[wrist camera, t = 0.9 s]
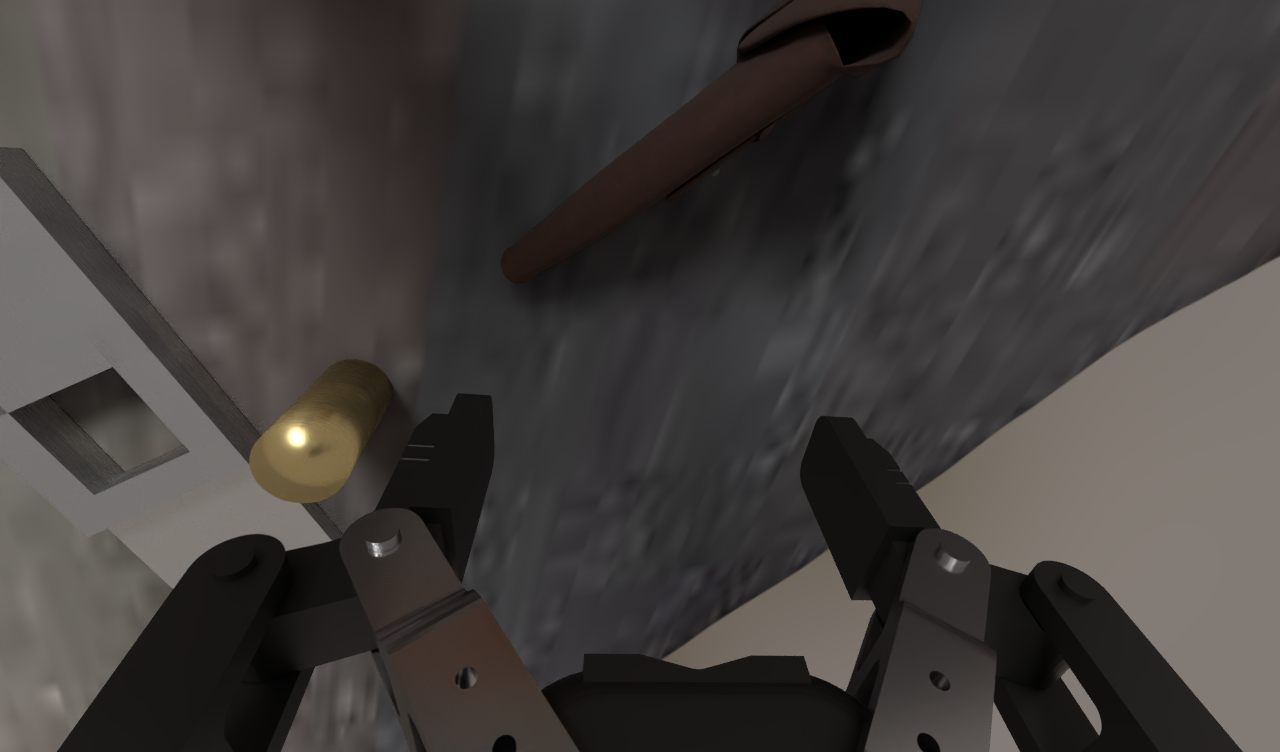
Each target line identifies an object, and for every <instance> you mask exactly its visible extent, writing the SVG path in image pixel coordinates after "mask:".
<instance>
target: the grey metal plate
mask: <svg viewBox="0 0 1280 752" xmlns="http://www.w3.org/2000/svg"><path fill="white" fill-rule="evenodd" d="M112 367H113V368H114V369H115V370H116V371H117V372H118V373H119V374H120V375H121V377H122V378H123V379H124V380H125V381H126V382H127V383H128V384H129V385H130V386H131V387H132V389H133V390H134V391H135V392H136V393H137V394H138V395H139V396H140V397H141V398H142V400H143V401H144V402H145V403H146V404H147V405H148V406H149V407H150V408H151V409H152V410H153V412H154V413H155V414H156V415H157V416H158V417H159V418H160V419H161V420H162V421H163V423H164V424H165V425H166V426H167V427H168V428H169V429H170V430H171V431H172V432H173V433H174V435H175V436H176V437H177V438H178V439H179V440H180V441H181V442H182V443H183V444H184V446H182V447H180V448H177V449H175V450H173V451H171V452H168V453H166V454H164V455H162V456H159V457H157V458H155V459H153V460H151V461H148V462H146V463H144V464H142V465H139V466H137V467H135V468H133V469H131V470H128V471H126V472H124V471H123V470H122V469H121V468H120V467H119V466H118V465H117V464H116V463H115V462H114V461H113V460H112V459H111V458H110V457H109V456H108V455H107V454H106V453H105V452H104V451H103V450H102V449H101V448H100V447H99V446H98V445H97V444H96V443H95V442H94V441H93V440H92V439H91V438H90V437H89V436H88V435H87V434H86V433H85V432H84V431H83V430H82V429H81V428H80V427H79V426H78V425H77V424H76V423H75V422H74V421H73V420H72V419H71V418H70V417H69V416H68V415H67V414H66V413H65V412H64V411H63V410H62V409H61V408H60V407H59V406H58V405H57V404H56V403H55V402H54V401H53V400H52V399H51V398H50V397H49V396H48V395H50V394H52V393H55V392H57V391H59V390H62V389H64V388H66V387H68V386H71V385H73V384H75V383H78V382H80V381H82V380H84V379H87V378H89V377H91V376H94V375H96V374H98V373H100V372H103V371H105V370H107V369H110V368H112ZM260 437H261V436H260V435H259V434H258V432H257V431H256V430H255V429H254V428H253V426H252V425H251V424H250V423H249V422H248V420H247V419H246V418H245V417H244V416H243V414H242V413H241V412H240V411H239V410H238V408H237V407H236V406H235V405H234V404H233V402H232V401H231V400H230V399H229V398H228V396H227V395H226V394H225V393H224V392H223V390H222V389H221V388H220V387H219V386H218V384H217V383H216V382H215V381H214V380H213V378H212V377H211V376H210V375H209V374H208V372H207V371H206V370H205V369H204V368H203V366H202V365H201V364H200V363H199V361H198V360H197V359H196V358H195V357H194V355H193V354H192V353H191V352H190V351H189V349H188V348H187V347H186V346H185V345H184V343H183V342H182V341H181V340H180V339H179V337H178V336H177V335H176V334H175V333H174V331H173V330H172V329H171V328H170V327H169V325H168V324H167V323H166V322H165V321H164V319H163V318H162V317H161V316H160V315H159V313H158V312H157V311H156V310H155V309H154V307H153V306H152V305H151V304H150V303H149V301H148V300H147V299H146V298H145V296H144V295H143V294H142V293H141V292H140V290H139V289H138V288H137V287H136V286H135V284H134V283H133V282H132V281H131V280H130V278H129V277H128V276H127V275H126V274H125V272H124V271H123V270H122V269H121V268H120V266H119V265H118V264H117V263H116V262H115V260H114V259H113V258H112V257H111V256H110V254H109V253H108V252H107V251H106V250H105V248H104V247H103V246H102V245H101V244H100V242H99V241H98V240H97V239H96V238H95V236H94V235H93V234H92V233H91V232H90V230H89V229H88V228H87V227H86V225H85V224H84V223H83V222H82V221H81V219H80V218H79V217H78V216H77V215H76V213H75V212H74V211H73V210H72V209H71V207H70V206H69V205H68V204H67V203H66V201H65V200H64V199H63V198H62V197H61V195H60V194H59V193H58V192H57V191H56V189H55V188H54V187H53V186H52V185H51V183H50V182H49V181H48V180H47V179H46V177H45V176H44V175H43V174H42V173H41V171H40V170H39V169H38V168H37V167H36V165H35V164H34V163H33V162H32V161H31V159H30V158H29V157H28V156H27V154H26V153H25V152H24V151H23V150H22V148H8V147H0V458H1V459H2V460H3V461H4V462H5V463H6V464H7V465H8V466H10V467H11V468H12V469H13V470H14V471H15V472H16V473H17V474H18V475H19V476H21V477H22V478H23V479H24V480H25V481H26V482H27V483H28V484H29V485H31V486H32V487H33V488H34V489H35V490H36V491H37V492H38V493H39V494H41V495H42V496H43V497H44V498H45V499H46V500H47V501H48V502H49V503H50V504H52V505H53V506H54V507H55V508H56V509H57V510H58V511H59V512H60V513H62V514H63V515H64V516H65V517H66V518H67V519H68V520H69V521H70V522H72V523H73V524H74V525H75V526H76V527H77V528H78V529H79V530H80V531H81V532H83V533H84V534H85V535H86V536H87V537H90V536H92V535H94V534H97V533H99V532H101V531H103V530H105V529H109V530H110V531H111V532H112V533H113V534H114V535H116V536H117V537H118V538H119V539H120V540H121V541H122V542H123V543H124V544H125V545H126V546H127V547H128V548H130V549H131V550H132V551H133V552H134V553H135V554H136V555H137V556H138V557H139V558H140V559H141V560H142V561H144V562H145V563H146V564H147V565H148V566H149V567H150V568H151V569H152V570H153V571H154V572H155V573H156V574H157V575H159V576H160V577H161V578H162V579H163V580H164V581H165V582H166V583H167V584H168V585H169V586H170V587H171V588H173V589H174V587H175V586H176V585H177V583H178V582H179V580H180V579H181V578H182V576H183V575H184V573H185V572H186V571H187V569H188V568H189V567H190V565H191V564H192V563H193V562H194V561H195V560H196V559H197V558H198V557H199V556H201V555H202V554H203V553H205V552H206V551H207V550H209V549H211V548H212V547H214V546H216V545H218V544H220V543H222V542H224V541H226V540H229V539H232V538H235V537H239V536H243V535H249V534H265V535H270V536H272V537H275V538H277V539H278V540H279V541H281V543H282V544H283V545H284V548H285V551H288V550H292V549H297V548H302V547H306V546H311V545H316V544H320V543H325V542H329V541H333V540H335V539H338V538H341V537H342V536H343V535H342V534H341V532H340V531H339V530H338V529H337V528H336V526H335V525H334V524H333V523H332V522H331V520H330V519H329V518H328V517H327V516H326V514H325V513H324V512H323V511H322V510H321V508H320V507H319V506H318V505H317V503H316V502H313V503H294V502H289V501H285V500H282V499H279V498H277V497H275V496H273V495H271V494H269V493H268V492H267V491H265V490H264V489H263V488H262V487H261V486H260V485H259V484H258V483H257V482H256V480H255V479H254V477H253V475H252V472H251V470H250V465H249V458H250V453H251V450H252V448H253V446H254V444H255V443H256V442H257V440H258V439H259V438H260Z"/></svg>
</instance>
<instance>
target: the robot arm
mask: <svg viewBox="0 0 1280 752" xmlns="http://www.w3.org/2000/svg"><path fill="white" fill-rule="evenodd" d="M493 462H494V427H493V407H492V398H491V396H490V395H476V394H459V393H458V394H457V395H456V398H455V400H454V402H453V405H452V407H451V409H450V412H449V414H433V413H432V414H431V415H430V416H429V417H428V418H426V419H425V420H424V421H423V422H422V423H420V424H419V425H418V426H417V427H416V428H415V430H414V432H413V434H412V436H411V438H410V440H409V442H408V446H407V447H406V449H405V451H404V453H403V455H402V459H401V460H400V461H399V463H398V465H397V467H396V469H395V471H394V473H393V475H392V477H391V479H390V481H389V483H388V485H387V487H386V489H385V491H384V493H383V495H382V497H381V499H380V501H379V503H378V505H377V507H376V509H375V511H374V512H371V513H369V514H367V515H364V516H363V517H361V518H359V519H358V520H356V521H355V522H354V523H353V524H351V525H350V526H349V528H348V529H347V530H346V531H345V533H344V534H343V536H342V537H341V538H338V539H335V540H333V541H329V542H325V543H320V544H316V545H311V546H306V547H302V548H297V549H292V550H288V551H285V548H284V545H283V544H282V543H281V541H279V540H278V539H277V538H275V537H272V536H270V535H265V534H249V535H243V536H239V537H235V538H232V539H229V540H226V541H224V542H222V543H220V544H218V545H216V546H214V547H212V548H211V549H209V550H207V551H206V552H205V553H203V554H202V555H201V556H199V557H198V558H197V559H196V560H195V561H194V562H193V563H192V564H191V565H190V567H189V568H188V569H187V571H186V572H185V573H184V575H183V576H182V578H181V579H180V580H179V582H178V583H177V585H176V586H175V587H174V589H173V590H172V592H171V593H170V594H169V596H168V597H167V599H166V600H165V601H164V603H163V604H162V606H161V607H160V608H159V610H158V611H157V613H156V614H155V615H154V617H153V618H152V620H151V621H150V622H149V624H148V625H147V627H146V628H145V629H144V631H143V632H142V634H141V635H140V636H139V638H138V639H137V641H136V642H135V643H134V645H133V646H132V648H131V649H130V650H129V652H128V653H127V655H126V656H125V657H124V659H123V660H122V662H121V663H120V664H119V666H118V667H117V668H116V670H115V671H114V673H113V674H112V675H111V677H110V678H109V680H108V681H107V682H106V684H105V685H104V687H103V688H102V689H101V691H100V692H99V694H98V695H97V696H96V698H95V699H94V701H93V702H92V703H91V705H90V706H89V708H88V709H87V710H86V712H85V713H84V715H83V716H82V717H81V719H80V720H79V722H78V723H77V724H76V726H75V727H74V729H73V730H72V731H71V733H70V734H69V736H68V737H67V738H66V740H65V741H64V743H63V744H62V745H61V747H60V748H59V750H58V751H57V752H281V750H282V747H283V745H284V742H285V740H286V737H287V735H288V732H289V730H290V728H291V725H292V723H293V720H294V718H295V715H296V713H297V710H298V708H299V705H300V703H301V700H302V698H303V695H304V693H305V690H306V688H307V685H308V683H309V680H310V678H311V675H312V673H313V670H314V668H315V666H318V665H322V664H325V663H329V662H332V661H336V660H339V659H343V658H346V657H349V656H353V655H356V654H360V653H363V652H367V651H369V652H370V654H371V657H372V659H373V661H374V664H375V666H376V669H377V671H378V673H379V676H380V678H381V680H382V683H383V685H384V688H385V690H386V692H387V695H388V697H389V700H390V702H391V704H392V707H393V709H394V712H395V714H396V716H397V719H398V721H399V724H400V726H401V729H402V731H403V734H404V736H405V739H406V742H407V745H408V748H409V751H410V752H989V747H990V736H991V723H992V711H993V701H994V703H995V705H996V707H997V709H998V710H999V712H1000V714H1001V716H1002V718H1003V720H1004V722H1005V724H1006V726H1007V728H1008V730H1009V731H1010V733H1011V735H1012V737H1013V739H1014V741H1015V743H1016V745H1017V746H1018V748H1019V750H1020V752H1242V750H1241V749H1240V748H1239V747H1238V746H1237V745H1236V743H1235V742H1234V741H1233V740H1232V738H1231V737H1230V736H1229V735H1228V734H1227V732H1226V731H1225V730H1224V729H1223V728H1222V727H1221V725H1220V724H1219V723H1218V722H1217V721H1216V719H1215V718H1214V717H1213V716H1212V715H1211V714H1210V713H1209V711H1208V710H1207V709H1206V708H1205V706H1204V705H1203V704H1202V703H1201V702H1200V701H1199V699H1198V698H1197V697H1196V696H1195V695H1194V694H1193V692H1192V691H1191V690H1190V689H1189V688H1188V686H1187V685H1186V684H1185V683H1184V682H1183V680H1182V679H1181V678H1180V677H1179V676H1178V674H1177V673H1176V672H1175V671H1174V670H1173V668H1172V667H1171V666H1170V665H1169V664H1168V663H1167V661H1166V660H1165V659H1164V658H1163V657H1162V655H1161V654H1160V653H1159V652H1158V651H1157V650H1156V649H1155V647H1154V646H1153V645H1152V644H1151V642H1150V641H1149V640H1148V639H1147V638H1146V637H1145V635H1144V634H1143V633H1142V632H1141V631H1140V629H1139V628H1138V627H1137V626H1136V625H1135V623H1134V622H1133V621H1132V620H1131V619H1130V618H1129V616H1128V615H1127V614H1126V613H1125V612H1124V610H1123V609H1122V608H1121V607H1120V606H1119V605H1118V603H1117V602H1116V601H1115V600H1114V599H1113V597H1112V596H1111V595H1110V594H1109V593H1108V592H1107V591H1106V590H1105V588H1104V587H1102V586H1101V585H1100V584H1099V583H1098V582H1097V581H1095V580H1094V579H1093V578H1091V577H1090V576H1088V575H1087V574H1085V573H1084V572H1082V571H1080V570H1078V569H1076V568H1074V567H1072V566H1069V565H1067V564H1064V563H1060V562H1055V561H1042V562H1040V563H1038V564H1037V565H1036V566H1035V567H1034V568H1033V570H1032V571H1031V572H1030V573H1029V575H1025V574H1022V573H1018V572H1015V571H1011V570H1007V569H1004V568H1001V567H997V566H994V565H990V564H989V562H988V560H987V559H986V557H985V556H984V554H982V552H981V551H980V550H979V549H978V548H977V547H976V546H975V545H973V544H972V543H971V542H970V541H968V540H966V539H965V538H963V537H961V536H959V535H958V534H955V533H953V532H951V531H947V530H944V529H941V528H940V527H939V525H938V524H937V522H936V521H935V519H934V518H933V516H932V515H931V513H930V512H929V510H928V509H927V508H926V506H925V505H924V503H923V502H922V500H921V499H920V497H919V496H918V494H917V493H916V491H915V490H914V488H913V487H912V485H909V481H908V480H907V478H906V477H905V475H904V474H903V472H900V468H899V466H898V465H897V463H896V462H895V461H894V459H893V458H892V456H891V455H890V453H889V452H888V451H886V450H885V449H884V448H883V447H881V446H880V445H879V444H878V443H877V442H875V441H874V440H873V439H867V438H866V436H865V435H864V433H863V432H862V430H861V429H860V427H859V426H858V424H857V422H856V421H855V420H854V419H853V418H848V417H831V416H821V417H819V418H818V420H817V421H816V424H815V426H814V429H813V432H812V435H811V438H810V440H809V443H808V446H807V449H806V451H805V454H804V457H803V460H802V463H801V469H800V478H801V484H802V487H803V490H804V492H805V494H806V496H807V499H808V501H809V503H810V506H811V508H812V510H813V513H814V515H815V517H816V520H817V522H818V524H819V526H820V529H821V531H822V533H823V536H824V538H825V540H826V543H827V545H828V547H829V549H830V552H831V554H832V556H833V559H834V561H835V563H836V566H837V568H838V570H839V572H840V575H841V577H842V579H843V582H844V584H845V586H846V589H847V591H848V593H849V595H850V598H851V600H872V601H873V603H874V605H875V608H876V609H875V611H874V613H873V614H872V617H871V618H870V621H869V624H868V628H867V630H866V633H865V637H864V639H863V643H862V645H861V648H860V651H859V655H858V658H857V661H856V664H855V667H854V670H853V673H852V676H851V679H850V682H849V684H848V687H847V689H846V691H843V690H842V689H840V688H838V687H836V686H834V685H833V684H831V683H829V682H827V681H824V680H822V679H819V678H817V677H814V676H811V675H809V671H808V668H807V665H806V662H805V659H804V656H748V657H745V658H741V659H738V660H734V661H730V662H727V663H723V664H720V665H716V666H712V667H709V668H705V669H699V670H698V669H692V668H688V667H684V666H681V665H677V664H674V663H670V662H666V661H663V660H659V659H655V658H652V657H648V656H644V655H641V654H584V664H583V672H579V673H576V674H572V675H569V676H567V677H564V678H562V679H560V680H557V681H556V682H554V683H552V684H550V685H549V686H547V687H545V688H544V689H542V690H540V689H539V687H538V685H537V684H536V682H535V681H534V679H533V678H532V676H531V674H530V673H529V671H528V670H527V668H526V667H525V665H524V663H523V662H522V660H521V659H520V657H519V655H518V654H517V652H516V651H515V649H514V648H513V646H512V644H511V643H510V641H509V640H508V638H507V637H506V635H505V633H504V632H503V630H502V629H501V627H500V626H499V624H498V622H497V621H496V619H495V618H494V616H493V614H492V613H491V611H490V610H489V608H488V607H487V605H486V603H485V602H484V600H483V599H482V597H481V596H480V595H479V594H478V593H477V592H476V591H475V590H473V589H472V590H470V591H468V592H467V591H466V590H465V589H464V587H463V586H462V581H463V577H464V573H465V570H466V566H467V562H468V558H469V555H470V551H471V547H472V544H473V540H474V536H475V532H476V529H477V525H478V521H479V517H480V514H481V510H482V506H483V503H484V499H485V495H486V491H487V488H488V484H489V480H490V477H491V473H492V468H493ZM1069 668H1071V670H1072V672H1073V673H1074V675H1075V676H1076V678H1077V679H1078V681H1079V682H1080V683H1081V685H1082V686H1083V688H1084V689H1085V691H1086V692H1087V694H1088V695H1089V697H1090V698H1091V700H1092V701H1093V703H1094V704H1095V706H1096V707H1097V709H1098V711H1099V714H1100V718H1101V723H1102V730H1101V734H1100V735H1098V734H1097V732H1096V731H1095V729H1094V727H1093V726H1092V724H1091V723H1090V721H1089V720H1088V718H1087V717H1086V715H1085V714H1084V712H1083V711H1082V709H1081V708H1080V706H1079V705H1078V703H1077V702H1076V700H1075V699H1074V697H1073V695H1072V694H1071V692H1070V691H1069V689H1068V688H1067V686H1066V685H1065V683H1064V682H1063V681H1062V679H1061V676H1062V675H1063V674H1064V673H1065V672H1066V671H1067V670H1068V669H1069Z"/></svg>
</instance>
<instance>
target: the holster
mask: <svg viewBox="0 0 1280 752" xmlns="http://www.w3.org/2000/svg"><path fill="white" fill-rule="evenodd" d="M921 6H922V0H784V1H783V2H781V3H780V4H778V5H777V6H776V7H774V8H773V9H772V10H770V11H769V12H768V13H767V14H766V15H764V16H763V17H762V18H761V19H760V20H758V21H757V22H756V23H755V24H753V25H752V26H751V27H750V28H749V29H747V30H746V32H745V33H744V34H743V35H742V37H741V39H740V41H739V45H738V49H737V64H736V65H735V66H733V67H732V68H731V69H729V70H728V71H727V72H726V73H724V74H723V75H722V76H721V77H719V78H718V79H717V80H716V81H714V82H713V83H712V84H711V85H709V86H708V87H707V88H705V89H704V90H703V91H702V92H700V93H699V94H698V95H697V96H695V97H694V98H693V99H692V100H690V101H689V102H688V103H687V104H685V105H684V106H683V107H682V108H680V109H679V110H678V111H677V112H675V113H674V114H673V115H671V116H670V117H669V118H668V119H666V120H665V121H664V122H663V123H661V124H660V125H659V126H657V127H656V128H655V129H654V130H652V131H651V132H650V133H649V134H647V135H646V136H645V137H643V138H642V139H641V140H640V141H638V142H637V143H636V144H635V145H633V146H632V147H631V148H629V149H628V150H627V151H626V152H624V153H623V154H622V155H621V156H619V157H618V158H617V159H615V160H614V161H613V162H612V163H610V164H609V165H608V166H607V167H605V168H604V169H603V170H602V171H600V172H599V173H598V174H597V175H596V176H594V177H593V178H592V179H591V180H589V181H588V182H587V183H586V184H585V185H583V186H582V187H581V188H580V189H579V190H577V191H576V192H575V193H574V194H573V195H572V196H571V197H569V198H568V199H567V200H566V201H565V202H564V203H562V204H561V205H560V206H559V207H558V208H557V209H555V210H554V211H553V212H552V213H551V214H550V215H548V216H547V217H546V218H545V219H544V220H543V221H541V222H540V223H539V224H538V225H537V226H536V227H534V228H533V229H532V230H531V231H530V232H529V233H528V234H526V235H525V236H524V237H523V238H522V239H521V240H519V241H518V242H517V243H516V244H514V245H513V246H512V247H509V248H508V249H507V250H506V251H505V252H504V253H503V255H502V259H501V266H502V270H503V272H504V274H505V276H506V277H507V278H508V279H509V280H510V281H512V282H513V283H517V284H521V283H525V282H527V281H528V280H529V279H530V278H532V277H533V276H535V275H536V274H538V273H540V272H542V271H543V270H545V269H547V268H549V267H551V266H552V265H554V264H556V263H558V262H560V261H561V260H563V259H565V258H567V257H569V256H570V255H572V254H574V253H576V252H578V251H579V250H581V249H583V248H585V247H586V246H588V245H590V244H592V243H594V242H595V241H597V240H599V239H601V238H602V237H604V236H606V235H607V234H609V233H610V232H612V231H614V230H615V229H617V228H619V227H620V226H622V225H623V224H625V223H627V222H628V221H630V220H631V219H633V218H634V217H636V216H637V215H639V214H640V213H642V212H643V211H645V210H646V209H648V208H649V207H651V206H652V205H653V204H655V203H656V202H658V201H659V200H661V199H662V198H663V197H665V196H666V195H668V194H669V193H671V192H672V191H673V190H674V191H673V192H672V193H671V194H670V195H669V196H668V197H667V198H666V199H665V200H664V201H665V202H669V201H671V200H673V199H675V198H676V197H677V196H679V195H680V194H682V193H683V192H684V191H686V190H687V189H688V188H690V187H691V186H693V185H694V184H695V183H697V182H698V181H699V180H701V179H702V178H704V177H705V176H706V175H708V174H710V175H711V176H717V175H718V174H719V172H720V168H719V166H720V165H721V164H723V163H724V162H725V161H727V160H728V159H729V158H731V157H732V156H734V155H735V154H736V153H738V152H739V151H740V150H742V149H743V148H744V147H746V146H747V145H749V144H750V143H752V142H755V141H759V140H761V139H762V138H764V137H765V136H767V135H768V134H769V133H770V132H771V131H772V130H773V129H774V127H775V125H776V124H777V123H779V122H780V121H781V120H783V119H784V118H785V117H787V116H788V115H790V114H791V113H792V112H794V111H795V110H796V109H798V108H799V107H800V106H802V105H803V104H805V103H806V102H807V101H809V100H810V99H811V98H813V97H814V96H815V95H817V94H818V93H819V92H821V91H822V90H824V89H825V88H826V87H828V86H829V85H830V84H832V83H833V82H834V81H836V80H837V79H838V78H840V77H841V76H843V75H845V74H847V75H849V76H851V77H854V78H857V77H859V76H861V75H863V74H865V73H866V72H868V71H870V70H872V69H874V68H876V67H877V66H880V65H883V64H885V63H887V62H889V61H891V60H893V59H896V58H898V57H899V56H900V55H901V53H902V52H903V50H904V49H905V47H906V46H907V45H908V43H909V42H910V40H911V39H912V37H913V34H914V31H915V27H916V24H917V21H918V19H919V16H920V11H921ZM861 8H876V9H875V10H873V11H871V12H869V13H867V14H865V15H863V16H861V17H859V18H857V19H856V20H854V21H852V22H850V23H848V24H847V25H845V26H843V27H841V28H840V29H838V30H836V31H834V32H833V33H831V34H829V32H828V30H827V28H826V26H825V24H824V22H823V21H822V19H821V18H820V17H822V16H826V15H829V14H833V13H837V12H842V11H848V10H855V9H861ZM761 44H762V45H761Z"/></svg>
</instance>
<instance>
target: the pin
mask: <svg viewBox="0 0 1280 752" xmlns="http://www.w3.org/2000/svg"><path fill="white" fill-rule="evenodd" d="M391 398H392V388H391V384H390V381H389V379H388V378H387V376H386V375H385V374H384V373H383V372H382V371H381V370H380V369H379V368H378V367H376V366H375V365H373V364H371V363H368V362H365V361H362V360H344V361H340V362H337V363H335V364H333V365H332V366H330V367H329V368H328V369H327V370H326V371H325V372H324V373H323V374H322V375H321V376H320V377H319V378H318V379H317V380H316V381H315V382H314V383H313V384H312V385H311V386H310V387H309V388H308V389H307V390H306V391H305V392H304V393H303V394H302V395H301V396H300V397H299V398H298V400H297V401H296V402H295V403H294V404H293V405H292V406H291V407H290V408H289V409H288V410H287V411H286V412H285V413H284V414H283V415H282V416H281V417H280V418H279V419H278V420H277V421H276V422H275V423H274V424H273V425H272V426H271V427H270V428H269V429H268V430H267V431H266V432H265V433H264V434H263V435H262V436H261V437H260V438H259V439H258V440H257V442H256V443H255V444H254V446H253V448H252V450H251V453H250V458H249V465H250V470H251V472H252V475H253V477H254V479H255V480H256V482H257V483H258V484H259V485H260V486H261V487H262V488H263V489H264V490H265V491H267V492H268V493H269V494H271V495H273V496H275V497H277V498H279V499H282V500H285V501H289V502H294V503H313V502H318V501H322V500H324V499H327V498H329V497H331V496H332V495H334V494H335V493H337V492H338V491H339V490H340V489H341V488H342V487H343V485H344V484H345V482H346V480H347V478H348V477H349V475H350V473H351V471H352V470H353V468H354V466H355V464H356V462H357V461H358V459H359V457H360V455H361V454H362V452H363V450H364V448H365V446H366V445H367V443H368V441H369V439H370V438H371V436H372V434H373V432H374V430H375V429H376V427H377V425H378V423H379V422H380V420H381V418H382V416H383V414H384V413H385V411H386V409H387V407H388V406H389V404H390V401H391Z"/></svg>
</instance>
